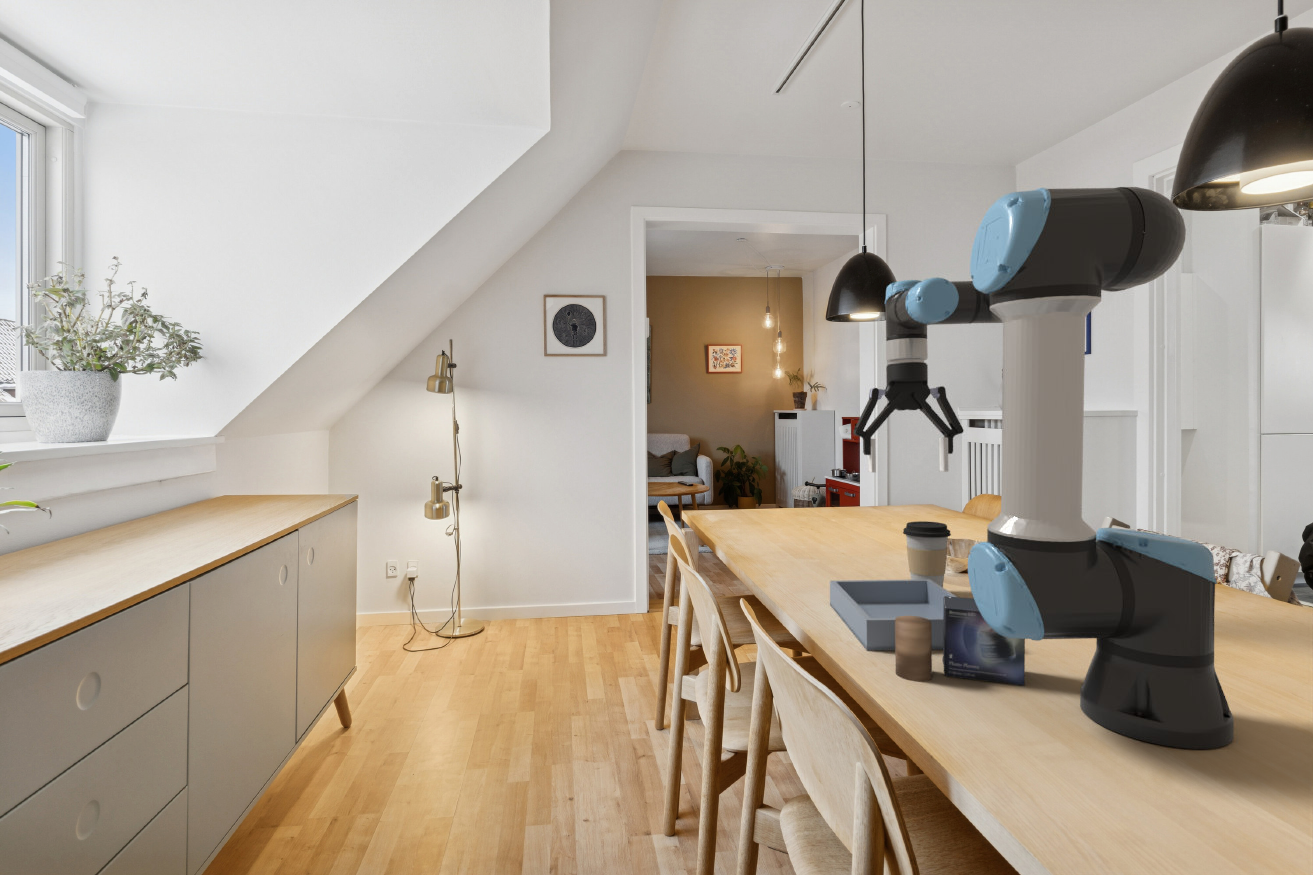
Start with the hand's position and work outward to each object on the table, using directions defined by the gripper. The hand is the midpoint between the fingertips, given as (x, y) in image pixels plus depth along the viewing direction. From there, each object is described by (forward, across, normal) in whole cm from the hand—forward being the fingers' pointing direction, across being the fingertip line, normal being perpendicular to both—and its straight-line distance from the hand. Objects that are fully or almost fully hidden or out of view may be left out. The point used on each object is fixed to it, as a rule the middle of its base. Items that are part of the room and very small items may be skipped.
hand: (907, 471), depth 129 cm
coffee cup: (+27, -7, -11) cm, 30 cm away
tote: (+27, +4, +10) cm, 29 cm away
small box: (+28, -1, +32) cm, 43 cm away
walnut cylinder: (+27, +9, +33) cm, 44 cm away
